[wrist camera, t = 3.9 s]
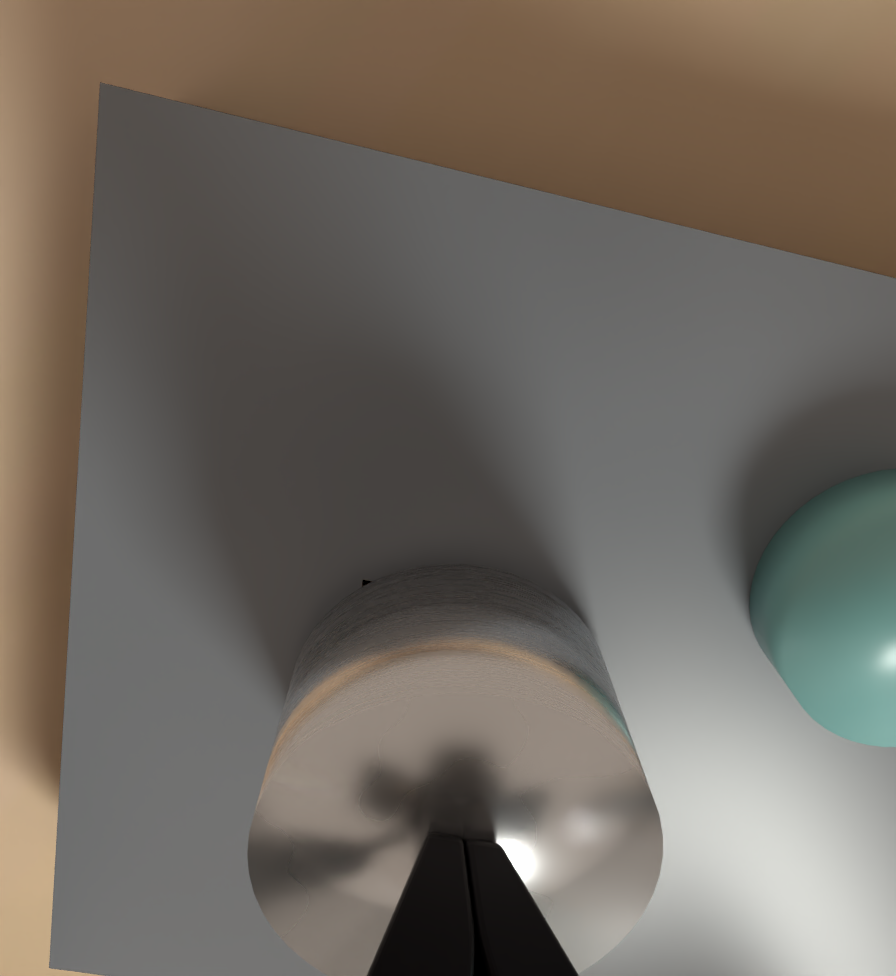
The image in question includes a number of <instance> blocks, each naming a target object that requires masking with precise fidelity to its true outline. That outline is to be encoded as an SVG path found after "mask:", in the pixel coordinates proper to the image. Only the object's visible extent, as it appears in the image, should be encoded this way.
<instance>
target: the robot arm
mask: <svg viewBox="0 0 896 976" xmlns="http://www.w3.org/2000/svg"><path fill="white" fill-rule="evenodd" d="M367 976H579V975H578V973H577V971H576V970H575V968H574V966H573V965H572V963H571V961H570V960H569V958H568V956H567V955H566V953H565V951H564V950H563V948H562V946H561V945H560V943H559V941H558V939H557V938H556V936H555V934H554V933H553V931H552V929H551V928H550V926H549V924H548V923H547V921H546V919H545V918H544V916H543V914H542V913H541V911H540V909H539V907H538V906H537V904H536V902H535V901H534V899H533V897H532V896H531V894H530V892H529V891H528V889H527V887H526V886H525V884H524V882H523V881H522V879H521V877H520V875H519V874H518V872H517V870H516V869H515V867H514V865H513V864H512V862H511V860H510V859H509V857H508V855H507V854H506V852H505V850H504V849H503V847H502V846H500V845H499V844H498V843H495V842H488V841H482V840H476V839H467V840H465V841H464V842H463V841H462V839H461V838H460V837H457V836H451V835H444V834H438V833H429V834H428V835H427V836H426V838H425V840H424V842H423V844H422V847H421V849H420V851H419V854H418V856H417V858H416V861H415V863H414V865H413V868H412V870H411V873H410V875H409V877H408V880H407V882H406V884H405V887H404V889H403V891H402V894H401V896H400V898H399V901H398V903H397V905H396V908H395V910H394V912H393V915H392V917H391V919H390V922H389V924H388V927H387V929H386V931H385V934H384V936H383V938H382V941H381V943H380V945H379V948H378V950H377V952H376V955H375V957H374V959H373V962H372V964H371V966H370V969H369V971H368V973H367Z"/></svg>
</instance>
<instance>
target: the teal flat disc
mask: <svg viewBox="0 0 896 976" xmlns="http://www.w3.org/2000/svg"><path fill="white" fill-rule="evenodd" d="M749 610H750V619H751V624H752V628H753V632H754V635H755V637H756V639H757V642H758V644H759V646H760V648H761V649H762V651H763V652H764V654H765V655H766V657H767V658H768V660H769V661H770V662H771V664H772V665H773V667H774V668H775V669H776V671H777V672H778V674H779V675H780V677H781V678H782V679H783V681H784V682H785V684H786V685H787V686H788V688H789V689H790V691H791V692H792V694H793V695H794V696H795V698H796V699H797V701H798V702H799V703H800V705H801V706H802V708H803V709H804V710H805V711H806V712H807V713H808V714H809V715H810V717H811V718H812V719H813V720H815V721H816V722H817V723H818V724H820V725H821V726H822V727H824V728H825V729H827V730H829V731H830V732H832V733H834V734H836V735H838V736H840V737H843V738H845V739H848V740H850V741H853V742H857V743H862V744H866V745H871V746H880V747H896V469H889V470H881V471H876V472H872V473H867V474H863V475H860V476H857V477H854V478H851V479H848V480H846V481H844V482H842V483H839V484H837V485H835V486H833V487H831V488H829V489H827V490H826V491H824V492H822V493H821V494H819V495H817V496H816V497H814V498H813V499H811V500H810V501H809V502H807V503H806V504H805V505H803V506H802V507H801V508H800V509H798V510H797V511H796V512H795V513H794V514H793V515H792V516H791V517H790V518H789V519H788V520H787V521H786V522H785V523H784V524H783V525H782V527H781V528H780V529H779V530H778V531H777V533H776V534H775V535H774V536H773V538H772V539H771V541H770V543H769V544H768V546H767V547H766V549H765V550H764V553H763V555H762V557H761V559H760V561H759V563H758V565H757V568H756V571H755V574H754V577H753V580H752V586H751V591H750V604H749Z"/></svg>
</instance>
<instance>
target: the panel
mask: <svg viewBox="0 0 896 976" xmlns="http://www.w3.org/2000/svg"><path fill="white" fill-rule="evenodd" d="M889 469H896V278H892V277H888V276H884V275H880V274H876V273H872V272H868V271H864V270H860V269H856V268H852V267H848V266H844V265H840V264H836V263H831V262H827V261H823V260H819V259H815V258H811V257H807V256H803V255H799V254H795V253H791V252H787V251H783V250H779V249H775V248H771V247H767V246H762V245H758V244H754V243H750V242H746V241H742V240H738V239H734V238H730V237H726V236H722V235H718V234H714V233H710V232H706V231H702V230H698V229H693V228H689V227H685V226H681V225H677V224H673V223H669V222H665V221H661V220H657V219H653V218H649V217H645V216H641V215H637V214H633V213H629V212H624V211H620V210H616V209H612V208H608V207H604V206H600V205H596V204H592V203H588V202H584V201H580V200H576V199H572V198H568V197H564V196H559V195H555V194H551V193H547V192H543V191H539V190H535V189H531V188H527V187H523V186H519V185H515V184H511V183H507V182H503V181H499V180H495V179H490V178H486V177H482V176H478V175H474V174H470V173H466V172H462V171H458V170H454V169H450V168H446V167H442V166H438V165H434V164H430V163H426V162H421V161H417V160H413V159H409V158H405V157H401V156H397V155H393V154H389V153H385V152H381V151H377V150H373V149H369V148H365V147H361V146H357V145H352V144H348V143H344V142H340V141H336V140H332V139H328V138H324V137H320V136H316V135H312V134H308V133H304V132H300V131H296V130H292V129H288V128H283V127H279V126H275V125H271V124H267V123H263V122H259V121H255V120H251V119H247V118H243V117H239V116H235V115H231V114H227V113H223V112H219V111H214V110H210V109H206V108H202V107H198V106H194V105H190V104H186V103H182V102H178V101H174V100H170V99H166V98H162V97H158V96H154V95H150V94H145V93H141V92H137V91H133V90H129V89H125V88H121V87H117V86H113V85H109V84H105V83H101V82H100V93H99V111H98V128H97V146H96V163H95V180H94V198H93V215H92V232H91V250H90V267H89V285H88V302H87V319H86V337H85V354H84V371H83V389H82V406H81V423H80V441H79V458H78V476H77V493H76V510H75V528H74V545H73V562H72V580H71V597H70V615H69V632H68V649H67V667H66V684H65V701H64V719H63V736H62V753H61V771H60V788H59V806H58V823H57V840H56V858H55V875H54V892H53V910H52V927H51V945H50V962H49V968H52V969H60V970H67V971H75V972H82V973H90V974H97V975H105V976H327V975H325V974H323V973H322V972H320V971H319V970H318V969H316V968H315V967H313V966H312V965H310V964H309V963H307V962H306V961H304V960H303V959H302V958H301V957H300V956H299V955H297V954H296V953H295V952H294V951H293V950H292V949H291V948H289V947H288V946H287V944H286V943H285V942H284V941H283V940H282V939H281V938H280V936H279V935H278V934H277V933H276V932H275V931H274V929H273V928H272V926H271V925H270V923H269V922H268V920H267V919H266V917H265V916H264V914H263V912H262V910H261V908H260V906H259V904H258V901H257V899H256V897H255V895H254V891H253V888H252V884H251V880H250V876H249V869H248V858H247V850H248V838H249V831H250V827H251V824H252V820H253V816H254V812H255V809H256V805H257V801H258V798H259V794H260V791H261V787H262V783H263V780H264V776H265V772H266V769H267V765H268V762H269V758H270V754H271V751H272V747H273V744H274V740H275V736H276V733H277V729H278V726H279V722H280V718H281V715H282V711H283V707H284V704H285V700H286V697H287V693H288V689H289V686H290V682H291V679H292V675H293V671H294V668H295V664H296V661H297V658H298V656H299V654H300V652H301V649H302V647H303V645H304V643H305V641H306V640H307V638H308V637H309V635H310V634H311V632H312V630H313V629H314V628H315V626H316V625H317V624H318V623H319V622H320V621H321V619H322V618H323V617H324V616H325V615H326V614H327V613H328V612H329V611H330V610H331V609H332V608H333V607H334V606H336V605H337V604H338V603H339V602H340V601H341V600H343V599H344V598H346V597H347V596H349V595H350V594H352V593H353V592H355V591H356V590H358V589H359V588H361V587H362V582H363V580H368V581H375V580H377V579H379V578H382V577H385V576H387V575H390V574H393V573H396V572H399V571H403V570H407V569H412V568H416V567H421V566H429V565H439V564H468V565H475V566H483V567H490V568H493V569H497V570H501V571H505V572H509V573H512V574H514V575H517V576H520V577H522V578H525V579H527V580H530V581H532V582H534V583H535V584H537V585H539V586H541V587H543V588H544V589H546V590H548V591H550V592H551V593H552V594H554V595H555V596H556V597H558V598H559V599H560V600H562V601H563V602H565V603H566V604H567V605H568V606H569V607H570V608H571V609H572V610H573V611H574V612H575V613H576V614H577V615H578V616H579V617H580V618H581V620H582V621H583V622H584V624H585V625H586V626H587V628H588V629H589V630H590V631H591V633H592V635H593V637H594V639H595V640H596V642H597V644H598V646H599V648H600V650H601V653H602V656H603V659H604V661H605V664H606V667H607V670H608V672H609V675H610V678H611V681H612V684H613V687H614V689H615V692H616V695H617V698H618V701H619V703H620V706H621V709H622V712H623V715H624V717H625V720H626V723H627V726H628V729H629V731H630V734H631V737H632V740H633V743H634V745H635V748H636V751H637V754H638V757H639V759H640V762H641V765H642V768H643V771H644V773H645V776H646V779H647V782H648V785H649V787H650V790H651V793H652V796H653V799H654V801H655V804H656V807H657V810H658V813H659V816H660V822H661V827H662V833H663V858H662V864H661V870H660V876H659V879H658V882H657V885H656V887H655V890H654V893H653V896H652V898H651V900H650V902H649V903H648V905H647V907H646V909H645V911H644V913H643V914H642V916H641V917H640V919H639V920H638V921H637V923H636V924H635V925H634V927H633V928H632V929H631V931H630V932H629V933H628V934H627V935H626V936H625V937H624V938H623V939H622V940H621V941H620V942H619V943H618V945H617V946H616V947H615V948H613V949H612V950H611V951H610V952H608V953H607V954H606V955H605V956H604V957H602V958H601V959H600V960H599V961H597V962H596V963H594V964H593V965H591V966H590V967H588V968H586V969H585V970H583V971H582V972H580V973H579V974H578V975H579V976H896V747H880V746H871V745H866V744H862V743H857V742H853V741H850V740H848V739H845V738H843V737H840V736H838V735H836V734H834V733H832V732H830V731H829V730H827V729H825V728H824V727H822V726H821V725H820V724H818V723H817V722H816V721H815V720H813V719H812V718H811V717H810V715H809V714H808V713H807V712H806V711H805V710H804V709H803V708H802V706H801V705H800V703H799V702H798V701H797V699H796V698H795V696H794V695H793V694H792V692H791V691H790V689H789V688H788V686H787V685H786V684H785V682H784V681H783V679H782V678H781V677H780V675H779V674H778V672H777V671H776V669H775V668H774V667H773V665H772V664H771V662H770V661H769V660H768V658H767V657H766V655H765V654H764V652H763V651H762V649H761V648H760V646H759V644H758V642H757V639H756V637H755V635H754V632H753V628H752V624H751V619H750V610H749V604H750V591H751V586H752V580H753V577H754V574H755V571H756V568H757V565H758V563H759V561H760V559H761V557H762V555H763V553H764V550H765V549H766V547H767V546H768V544H769V543H770V541H771V539H772V538H773V536H774V535H775V534H776V533H777V531H778V530H779V529H780V528H781V527H782V525H783V524H784V523H785V522H786V521H787V520H788V519H789V518H790V517H791V516H792V515H793V514H794V513H795V512H796V511H797V510H798V509H800V508H801V507H802V506H803V505H805V504H806V503H807V502H809V501H810V500H811V499H813V498H814V497H816V496H817V495H819V494H821V493H822V492H824V491H826V490H827V489H829V488H831V487H833V486H835V485H837V484H839V483H842V482H844V481H846V480H848V479H851V478H854V477H857V476H860V475H863V474H867V473H872V472H876V471H881V470H889Z"/></svg>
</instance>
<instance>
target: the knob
mask: <svg viewBox="0 0 896 976" xmlns="http://www.w3.org/2000/svg"><path fill="white" fill-rule="evenodd" d="M429 833H438V834H444V835H451V836H457V837H460V838H461V839H462V841H463V842H464V841H465V840H467V839H476V840H482V841H488V842H495V843H498V844H499V845H500V846H502V847H503V849H504V850H505V852H506V854H507V855H508V857H509V859H510V860H511V862H512V864H513V865H514V867H515V869H516V870H517V872H518V874H519V875H520V877H521V879H522V881H523V882H524V884H525V886H526V887H527V889H528V891H529V892H530V894H531V896H532V897H533V899H534V901H535V902H536V904H537V906H538V907H539V909H540V911H541V913H542V914H543V916H544V918H545V919H546V921H547V923H548V924H549V926H550V928H551V929H552V931H553V933H554V934H555V936H556V938H557V939H558V941H559V943H560V945H561V946H562V948H563V950H564V951H565V953H566V955H567V956H568V958H569V960H570V961H571V963H572V965H573V966H574V968H575V970H576V971H577V973H578V974H579V973H580V972H582V971H583V970H585V969H586V968H588V967H590V966H591V965H593V964H594V963H596V962H597V961H599V960H600V959H601V958H602V957H604V956H605V955H606V954H607V953H608V952H610V951H611V950H612V949H613V948H615V947H616V946H617V945H618V943H619V942H620V941H621V940H622V939H623V938H624V937H625V936H626V935H627V934H628V933H629V932H630V931H631V929H632V928H633V927H634V925H635V924H636V923H637V921H638V920H639V919H640V917H641V916H642V914H643V913H644V911H645V909H646V907H647V905H648V903H649V902H650V900H651V898H652V896H653V893H654V890H655V887H656V885H657V882H658V879H659V876H660V870H661V864H662V858H663V833H662V827H661V822H660V816H659V813H658V810H657V807H656V804H655V801H654V799H653V796H652V793H651V790H650V787H649V785H648V782H647V779H646V776H645V773H644V771H643V768H642V765H641V762H640V759H639V757H638V754H637V751H636V748H635V745H634V743H633V740H632V737H631V734H630V731H629V729H628V726H627V723H626V720H625V717H624V715H623V712H622V709H621V706H620V703H619V701H618V698H617V695H616V692H615V689H614V687H613V684H612V681H611V678H610V675H609V672H608V670H607V667H606V664H605V661H604V659H603V656H602V653H601V650H600V648H599V646H598V644H597V642H596V640H595V639H594V637H593V635H592V633H591V631H590V630H589V629H588V628H587V626H586V625H585V624H584V622H583V621H582V620H581V618H580V617H579V616H578V615H577V614H576V613H575V612H574V611H573V610H572V609H571V608H570V607H569V606H568V605H567V604H566V603H565V602H563V601H562V600H560V599H559V598H558V597H556V596H555V595H554V594H552V593H551V592H550V591H548V590H546V589H544V588H543V587H541V586H539V585H537V584H535V583H534V582H532V581H530V580H527V579H525V578H522V577H520V576H517V575H514V574H512V573H509V572H505V571H501V570H497V569H493V568H490V567H483V566H475V565H468V564H439V565H429V566H421V567H416V568H412V569H407V570H403V571H399V572H396V573H393V574H390V575H387V576H385V577H382V578H379V579H377V580H375V581H373V582H371V583H369V584H367V585H365V586H363V587H361V588H359V589H358V590H356V591H355V592H353V593H352V594H350V595H349V596H347V597H346V598H344V599H343V600H341V601H340V602H339V603H338V604H337V605H336V606H334V607H333V608H332V609H331V610H330V611H329V612H328V613H327V614H326V615H325V616H324V617H323V618H322V619H321V621H320V622H319V623H318V624H317V625H316V626H315V628H314V629H313V630H312V632H311V634H310V635H309V637H308V638H307V640H306V641H305V643H304V645H303V647H302V649H301V652H300V654H299V656H298V658H297V661H296V664H295V668H294V671H293V675H292V679H291V682H290V686H289V689H288V693H287V697H286V700H285V704H284V707H283V711H282V715H281V718H280V722H279V726H278V729H277V733H276V736H275V740H274V744H273V747H272V751H271V754H270V758H269V762H268V765H267V769H266V772H265V776H264V780H263V783H262V787H261V791H260V794H259V798H258V801H257V805H256V809H255V812H254V816H253V820H252V824H251V827H250V831H249V838H248V850H247V858H248V869H249V876H250V880H251V884H252V888H253V891H254V895H255V897H256V899H257V901H258V904H259V906H260V908H261V910H262V912H263V914H264V916H265V917H266V919H267V920H268V922H269V923H270V925H271V926H272V928H273V929H274V931H275V932H276V933H277V934H278V935H279V936H280V938H281V939H282V940H283V941H284V942H285V943H286V944H287V946H288V947H289V948H291V949H292V950H293V951H294V952H295V953H296V954H297V955H299V956H300V957H301V958H302V959H303V960H304V961H306V962H307V963H309V964H310V965H312V966H313V967H315V968H316V969H318V970H319V971H320V972H322V973H323V974H325V975H327V976H367V973H368V971H369V969H370V966H371V964H372V962H373V959H374V957H375V955H376V952H377V950H378V948H379V945H380V943H381V941H382V938H383V936H384V934H385V931H386V929H387V927H388V924H389V922H390V919H391V917H392V915H393V912H394V910H395V908H396V905H397V903H398V901H399V898H400V896H401V894H402V891H403V889H404V887H405V884H406V882H407V880H408V877H409V875H410V873H411V870H412V868H413V865H414V863H415V861H416V858H417V856H418V854H419V851H420V849H421V847H422V844H423V842H424V840H425V838H426V836H427V835H428V834H429Z"/></svg>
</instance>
